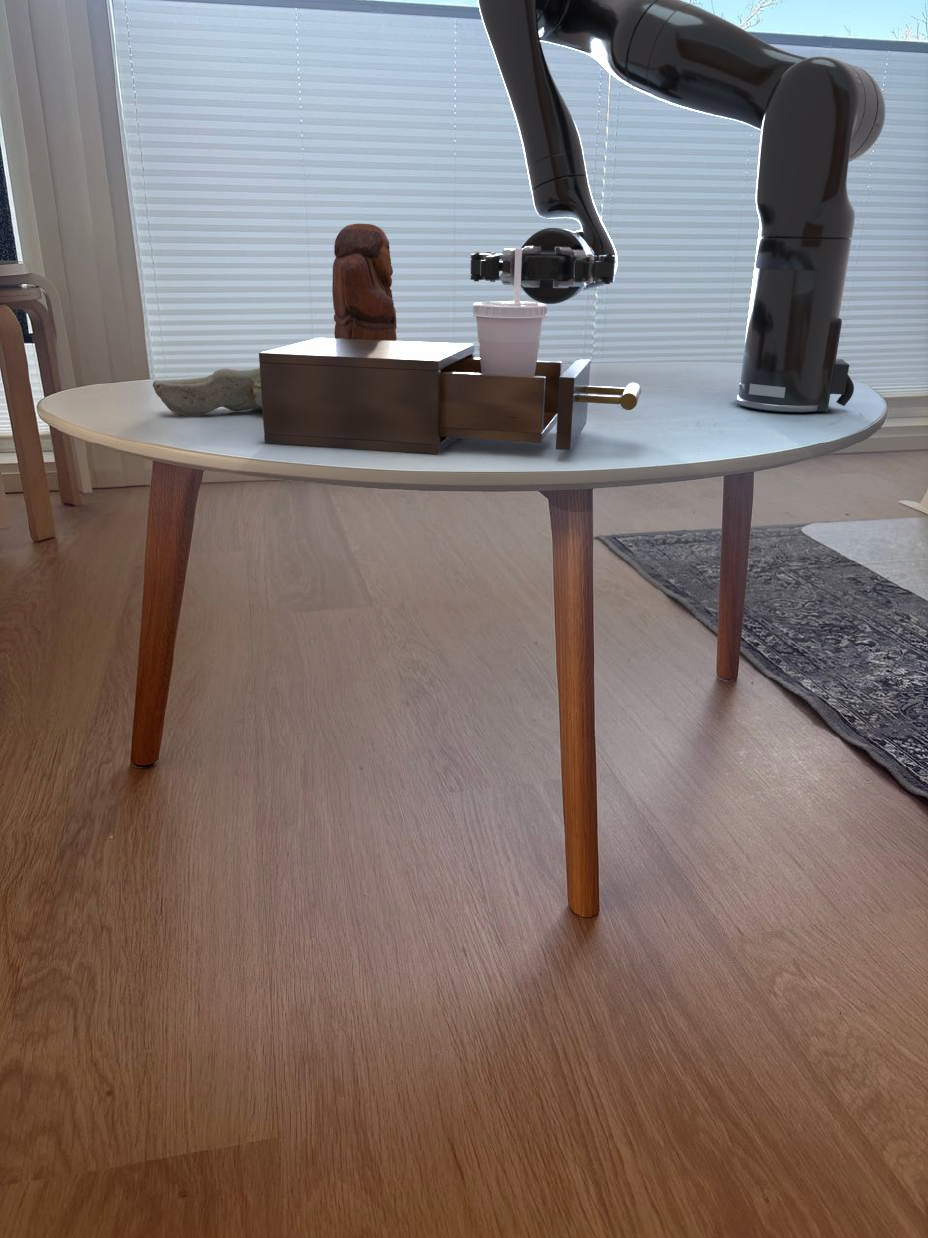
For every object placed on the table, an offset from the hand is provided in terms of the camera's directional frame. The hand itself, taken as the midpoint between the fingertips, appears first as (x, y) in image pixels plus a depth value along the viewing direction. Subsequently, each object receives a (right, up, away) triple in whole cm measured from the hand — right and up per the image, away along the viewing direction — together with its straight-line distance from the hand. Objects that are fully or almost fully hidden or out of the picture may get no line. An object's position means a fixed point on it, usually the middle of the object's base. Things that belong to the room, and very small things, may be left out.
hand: (533, 269), depth 87 cm
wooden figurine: (-17, -8, +17) cm, 26 cm away
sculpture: (-30, -12, +8) cm, 33 cm away
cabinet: (-15, -16, -1) cm, 21 cm away
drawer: (-1, -16, -5) cm, 17 cm away
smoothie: (-3, -15, -4) cm, 16 cm away
